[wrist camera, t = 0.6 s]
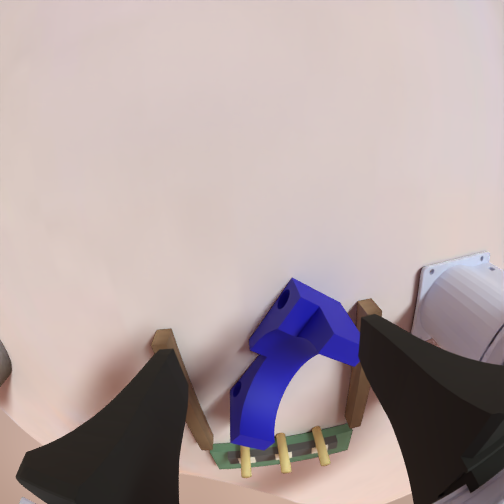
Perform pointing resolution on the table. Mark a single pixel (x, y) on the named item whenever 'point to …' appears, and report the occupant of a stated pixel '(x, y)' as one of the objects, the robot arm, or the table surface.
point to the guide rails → (195, 413)
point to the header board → (284, 450)
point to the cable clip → (287, 357)
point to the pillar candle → (4, 364)
